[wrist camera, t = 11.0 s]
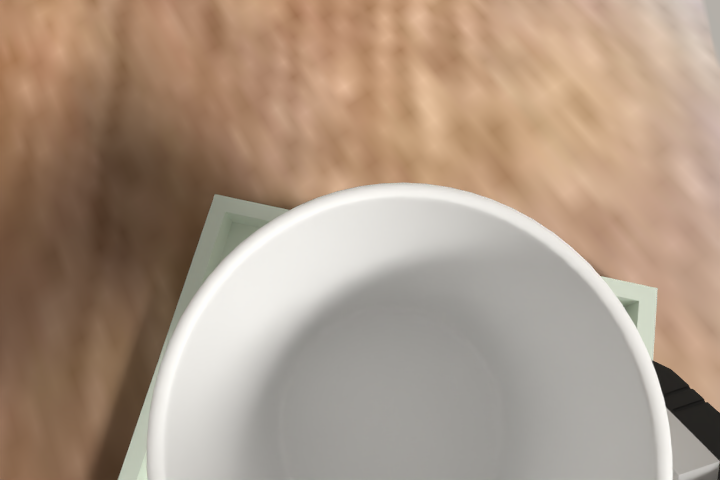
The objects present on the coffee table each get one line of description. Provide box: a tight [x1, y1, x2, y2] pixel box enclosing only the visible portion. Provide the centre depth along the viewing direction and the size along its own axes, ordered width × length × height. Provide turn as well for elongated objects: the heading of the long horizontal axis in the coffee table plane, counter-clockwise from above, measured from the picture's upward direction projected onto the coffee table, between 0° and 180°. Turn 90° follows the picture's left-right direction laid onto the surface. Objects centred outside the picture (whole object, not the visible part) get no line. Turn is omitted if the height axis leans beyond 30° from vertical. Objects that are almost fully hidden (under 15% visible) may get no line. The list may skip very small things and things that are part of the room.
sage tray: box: [118, 194, 658, 480], centre depth 24 cm, size 22×20×2 cm
